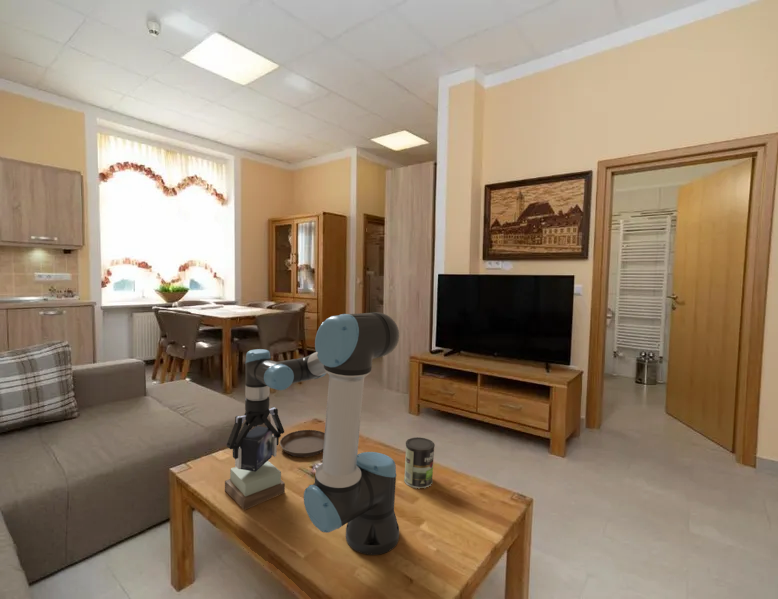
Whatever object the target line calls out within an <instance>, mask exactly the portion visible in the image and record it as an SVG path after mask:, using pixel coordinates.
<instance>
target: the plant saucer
mask: <svg viewBox="0 0 778 599" xmlns="http://www.w3.org/2000/svg"><path fill="white" fill-rule="evenodd" d="M324 436H325V431H324V432H323V431H321V430H316V429H315V430H314V429H302V430H295V431H292V432H289V433H287V434H286V435H284V436H282V438H281V439H279V440H280V442H279V445H280V447H281V449H282V450H283V451H284V452H285V453H287V454H289V455H291V456H293V457H297V458H298V457H299V458H306V457H313V456H316V455H318V454H319V455H320V454H321V453H323V448H324Z"/></svg>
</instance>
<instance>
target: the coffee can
mask: <svg viewBox="0 0 778 599" xmlns="http://www.w3.org/2000/svg"><path fill="white" fill-rule="evenodd" d="M434 453H435V442H434V441H433V440H431V439H429V438H424V437H411V438H408V439H407V440H406V441H405V458H404V459H405V462H404V476H403V477H404V478H403V479H404V480H403V481H404V483H405V484H406V486H408V487H410V488H413V489H417V488H418V489H419V490H421V489H420V488H424V489H427V488H426V487H428V488H430V487H431V486H432V485H433V473H434V456H435V454H434ZM431 484H432V485H431ZM429 486H430V487H429ZM418 489H417V490H418Z"/></svg>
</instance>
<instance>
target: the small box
mask: <svg viewBox="0 0 778 599" xmlns="http://www.w3.org/2000/svg"><path fill="white" fill-rule="evenodd" d="M272 435H274V434H273V433H272V431H271V430H270V429H269V428H268V427H267V426H261V425H257V426H255V427H252V429H251V430H250V431H249V432H248V434H247V436H246V437H245V438H244V439H243V442H242V444H241V445H240V448H241V469H243V470H248V471H254V472H256V471H257V470H258V469H259V468H260V467H261V466H262V465H264V464H265V463H266V462H267V461H269V460H271V458H272V457H273V455H272Z"/></svg>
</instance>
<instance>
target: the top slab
mask: <svg viewBox="0 0 778 599" xmlns="http://www.w3.org/2000/svg"><path fill="white" fill-rule="evenodd" d="M229 479H230V480H231V482H232V483H233V484H234V485H235V486H236V487H237V488H238V489H239V490H240V491H241V492H242V494H243V495H244V496H245V497H246V496H248V495H251V494H254V493H256V492H259V491H262V490H264V489H267V488H269V487H272V486H275V485H277V484H280V483H281V480H282V471H281V470H280V469H278V467H276V466H275V465H274V464H272V462H270V461H269V460H268V461H267V462H266V463H265V464H264V465H262V466H261V467H260V468H259V469H258V470H257V471H256V472H254V471H248V470H243V469H238V468H237V467H236V466H235V467H231V468H230V476H229Z"/></svg>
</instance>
